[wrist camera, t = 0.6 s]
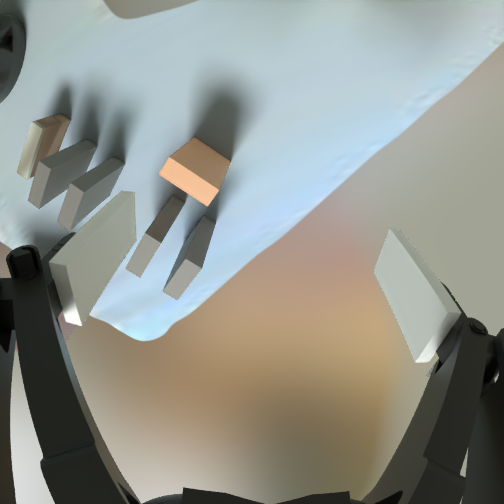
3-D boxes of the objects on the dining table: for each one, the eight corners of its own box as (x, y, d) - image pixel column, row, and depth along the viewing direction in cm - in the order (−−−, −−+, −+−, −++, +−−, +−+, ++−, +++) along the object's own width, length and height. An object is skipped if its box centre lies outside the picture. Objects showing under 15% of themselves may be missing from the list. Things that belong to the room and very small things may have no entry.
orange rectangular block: (221, 174, 34) (207, 206, 25) (185, 149, 33) (158, 174, 24) (231, 161, 33) (219, 190, 25) (194, 137, 32) (169, 156, 23)
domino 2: (98, 188, 35) (56, 222, 26) (113, 156, 33) (70, 182, 24) (109, 195, 36) (69, 231, 27) (125, 163, 33) (84, 192, 25)
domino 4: (183, 243, 39) (162, 291, 30) (203, 215, 37) (185, 258, 28) (195, 251, 39) (177, 300, 31) (215, 223, 37) (201, 268, 29)
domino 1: (73, 171, 34) (27, 200, 25) (87, 139, 32) (39, 160, 23) (83, 178, 34) (39, 209, 26) (97, 145, 32) (50, 169, 24)
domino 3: (154, 225, 38) (125, 268, 29) (172, 194, 35) (145, 232, 27) (165, 232, 38) (140, 277, 29) (185, 203, 36) (161, 243, 27)
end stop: (43, 158, 33) (16, 172, 28) (60, 113, 30) (32, 121, 25) (53, 165, 33) (26, 180, 28) (70, 120, 30) (42, 129, 25)
